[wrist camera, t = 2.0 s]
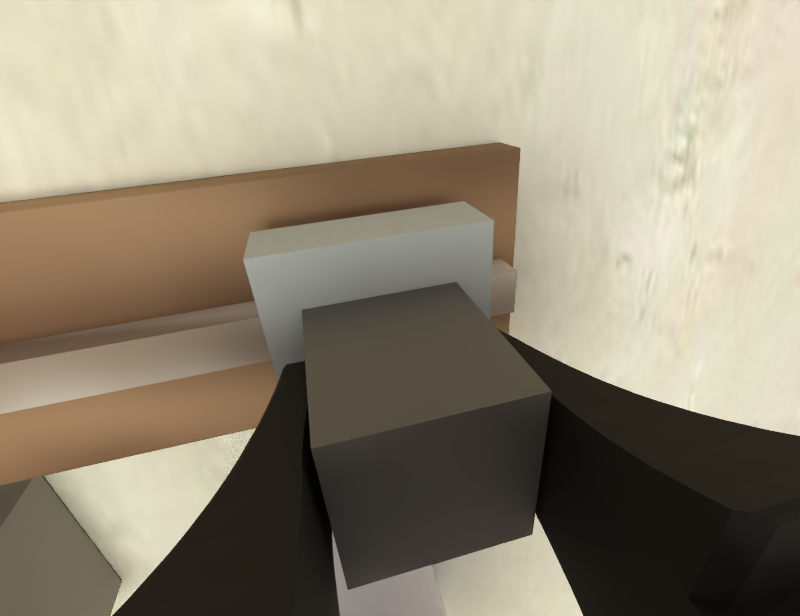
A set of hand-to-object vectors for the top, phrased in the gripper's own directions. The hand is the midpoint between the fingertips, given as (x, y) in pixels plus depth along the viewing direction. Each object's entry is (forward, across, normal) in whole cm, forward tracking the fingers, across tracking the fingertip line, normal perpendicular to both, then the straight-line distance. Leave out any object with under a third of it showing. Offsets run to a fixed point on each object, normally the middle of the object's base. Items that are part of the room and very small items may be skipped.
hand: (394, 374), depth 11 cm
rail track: (+6, +7, 0) cm, 9 cm away
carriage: (+3, 0, 0) cm, 3 cm away
